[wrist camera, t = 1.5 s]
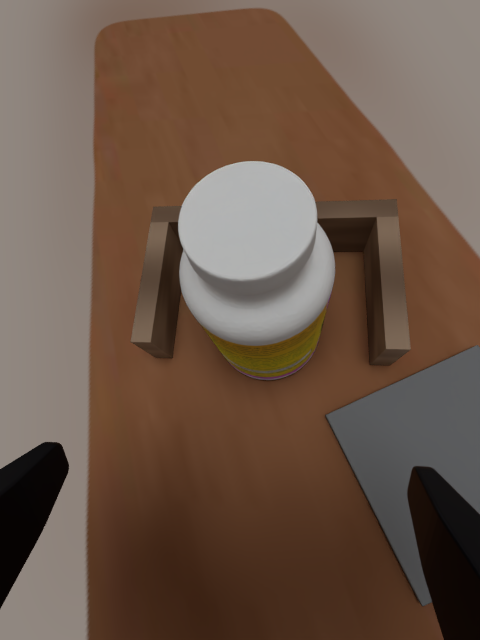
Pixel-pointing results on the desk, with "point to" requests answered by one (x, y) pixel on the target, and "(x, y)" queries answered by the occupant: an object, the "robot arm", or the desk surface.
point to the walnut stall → (345, 236)
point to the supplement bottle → (256, 267)
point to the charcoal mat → (415, 446)
